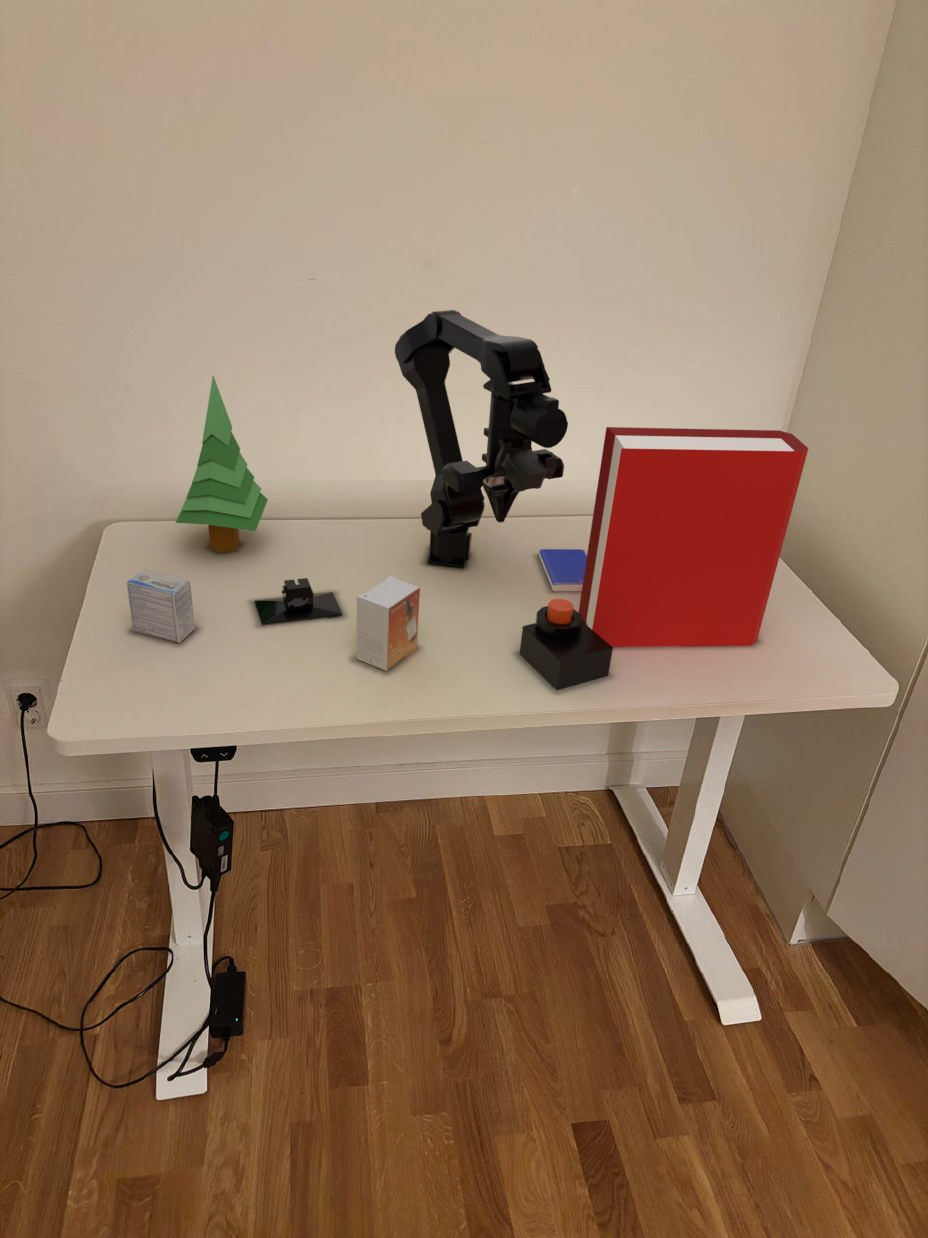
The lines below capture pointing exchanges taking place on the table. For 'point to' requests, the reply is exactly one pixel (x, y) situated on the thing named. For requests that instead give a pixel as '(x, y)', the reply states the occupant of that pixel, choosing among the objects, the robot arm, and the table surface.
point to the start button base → (565, 651)
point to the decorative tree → (222, 483)
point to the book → (687, 534)
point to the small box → (387, 622)
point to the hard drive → (564, 568)
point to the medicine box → (161, 605)
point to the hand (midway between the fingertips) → (499, 521)
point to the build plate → (297, 604)
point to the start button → (560, 611)
